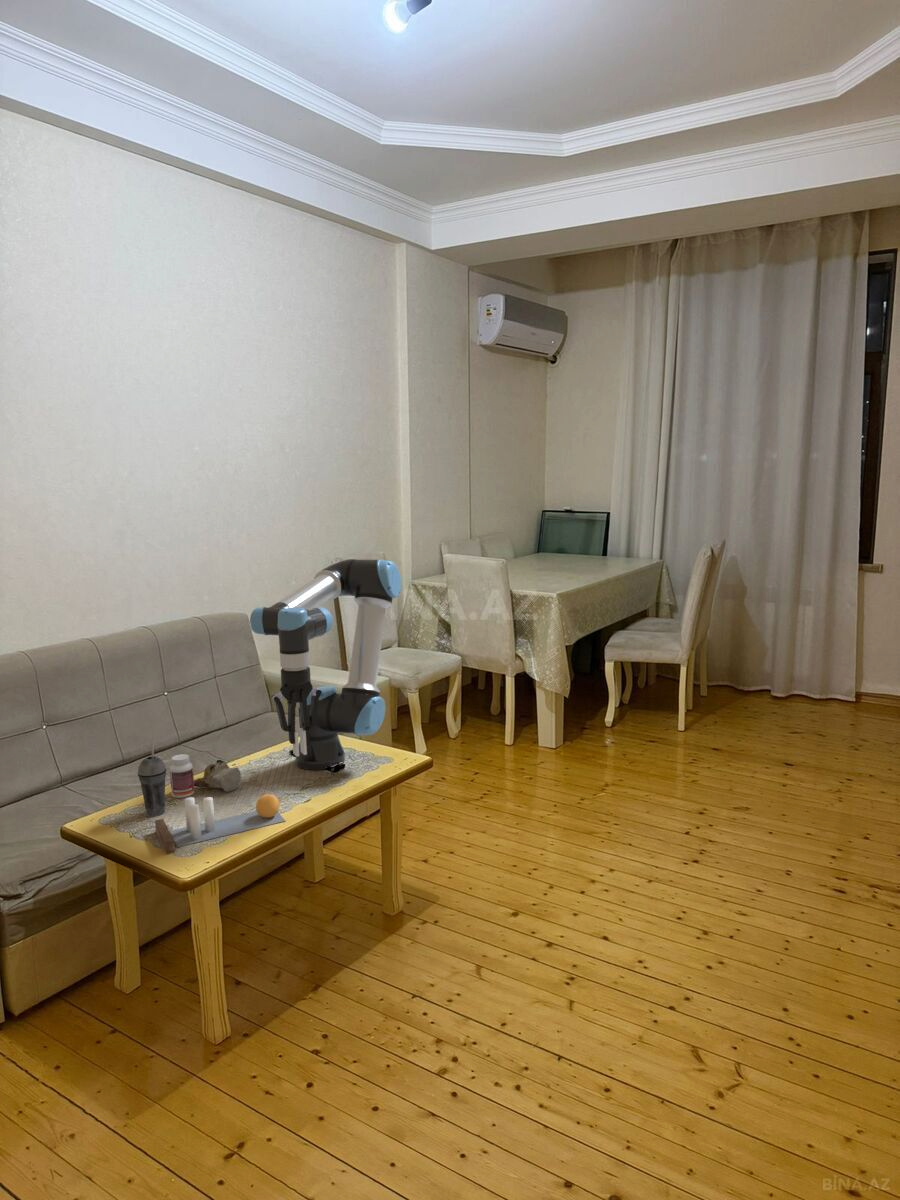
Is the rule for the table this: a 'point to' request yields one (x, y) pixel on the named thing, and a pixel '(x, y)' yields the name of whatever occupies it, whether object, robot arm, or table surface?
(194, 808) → the back pin left
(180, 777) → the pill bottle
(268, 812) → the ball
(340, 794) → the table surface
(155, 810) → the beverage cup
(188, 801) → the back pin right
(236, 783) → the ceramic sculpture
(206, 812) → the front pin
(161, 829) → the back wall
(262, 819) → the lane mat
